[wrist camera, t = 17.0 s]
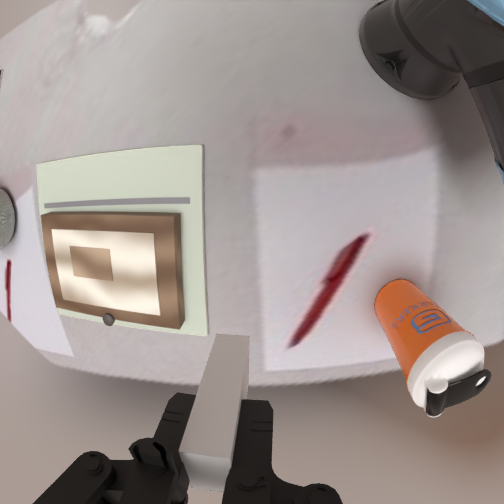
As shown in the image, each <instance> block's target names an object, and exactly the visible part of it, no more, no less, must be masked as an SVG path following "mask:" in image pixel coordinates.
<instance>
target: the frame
mask: <svg viewBox="0 0 504 504" xmlns="http://www.w3.org/2000/svg"><path fill="white" fill-rule="evenodd" d="M41 224H42V233H43V241H44V248H45V254H46V261H47V266H48V272H49V277H50V282H51V287H52V291H53V296H54V300H55V304H56V307H57V308H61V309H65V310H70V311H74V312H79V313H84V314H88V315H93V316H98V317H103V322H104V323H105V324H106V325H107V326H112V325H113V324H114V322H115V320H120V321H126V322H131V323H138V324H144V325H150V326H157V327H164V328H171V329H179V330H180V328H181V327H182V325H183V323H184V321H185V315H184V300H183V282H182V260H181V221H180V213H164V212H49V213H46V214H43V215H41Z"/></svg>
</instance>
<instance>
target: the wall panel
mask: <svg viewBox="0 0 504 504" xmlns="http://www.w3.org/2000/svg"><path fill="white" fill-rule="evenodd" d="M37 186H38V201H39V212H40V221H41V215H43V214H46V213H49V212H164V213H180V221H181V260H182V282H183V300H184V315H185V321H184V323H183V325H182V327H181V328H180V330H179V329H171V328H164V327H157V326H150V325H144V324H138V323H131V322H126V321H120V320H115V322H114V324H113V325H119V326H126V327H132V328H139V329H146V330H154V331H162V332H170V333H179V334H188V335H198V336H208V334H209V326H208V309H207V290H206V267H205V237H204V145H183V146H167V147H153V148H142V149H132V150H123V151H114V152H106V153H99V154H92V155H85V156H79V157H73V158H67V159H61V160H56V161H51V162H46V163H41V164H37ZM41 229H42V224H41ZM42 236H43V233H42ZM43 243H44V241H43ZM44 249H45V248H44ZM45 255H46V254H45ZM57 309H58V313H59V314H61V315H65V316H70V317H75V318H80V319H85V320H91V321H96V322H102V323H104V322H103V317H98V316H93V315H88V314H84V313H79V312H74V311H70V310H65V309H61V308H57Z"/></svg>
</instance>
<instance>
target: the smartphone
mask: <svg viewBox="0 0 504 504" xmlns="http://www.w3.org/2000/svg"><path fill="white" fill-rule="evenodd" d="M2 75H3V69H0V86H1V81H2Z"/></svg>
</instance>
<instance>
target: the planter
mask: <svg viewBox="0 0 504 504" xmlns="http://www.w3.org/2000/svg"><path fill="white" fill-rule="evenodd" d="M14 227H15V214H14V209H13V205H12V202H11V200H10V198H9V196H8V195H7V193H6V192H5V191H4V190H2V189H0V249H1V248H2V247H4V246H5V245H6V244H7V243H8V242H9V241H10V239H11V238H12V235H13V232H14Z"/></svg>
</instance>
